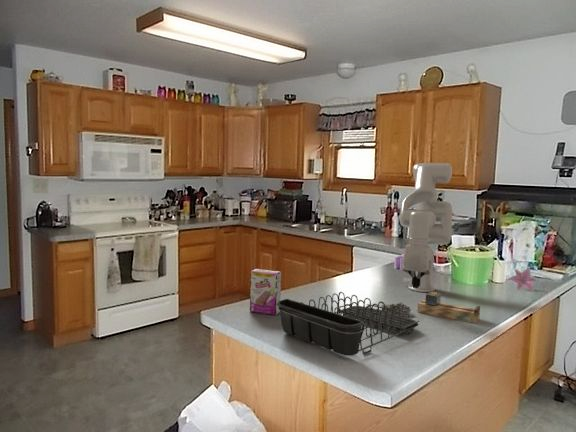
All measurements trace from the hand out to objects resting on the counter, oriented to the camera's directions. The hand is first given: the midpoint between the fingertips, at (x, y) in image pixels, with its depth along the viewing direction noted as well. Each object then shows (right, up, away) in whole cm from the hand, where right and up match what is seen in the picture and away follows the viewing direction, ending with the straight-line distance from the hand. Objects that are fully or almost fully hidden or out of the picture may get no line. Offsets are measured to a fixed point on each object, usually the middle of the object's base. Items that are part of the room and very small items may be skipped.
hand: (415, 287), depth 181 cm
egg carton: (-9, -10, -5) cm, 15 cm away
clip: (+19, -2, +82) cm, 84 cm away
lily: (+63, -7, +38) cm, 74 cm away
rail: (+11, -10, -5) cm, 16 cm away
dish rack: (-30, -12, -26) cm, 42 cm away
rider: (+6, -7, -2) cm, 10 cm away
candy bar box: (-61, -9, -6) cm, 62 cm away
